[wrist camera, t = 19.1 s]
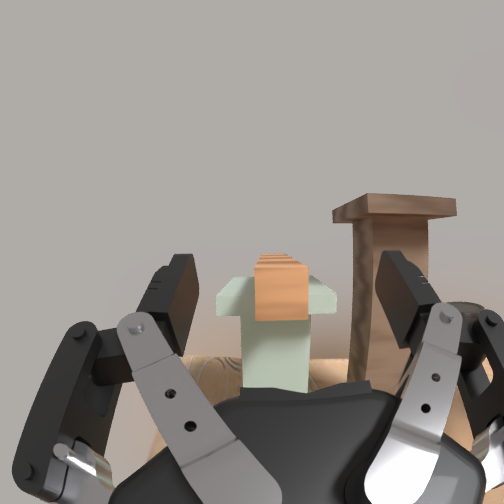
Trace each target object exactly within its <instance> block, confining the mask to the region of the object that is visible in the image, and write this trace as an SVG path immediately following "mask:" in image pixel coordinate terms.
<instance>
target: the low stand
mask: <svg viewBox="0 0 504 504" xmlns="http://www.w3.org/2000/svg"><path fill="white" fill-rule="evenodd" d="M336 306H337V293H335V292H334V291H333V290H331V289H330V288H329V287H327V286H326V285H324V284H323V283H322V282H320V281H319V280H317V279H316V278H315V277H313V276H309V296H308V320H282V321H255V277H234V278H233V279H232V280H231V281H230V282H229V283H228V284H227V285H226V286H225V287H224V288H223V289H222V290H221V291H220V292H219V293H218V294H217V295H216V310H217V316H241V346H242V374H243V387H248V388H266V387H274V388H279V389H284V390H290V391H296V392H302V393H308V377H309V356H310V328H311V314H325V313H336Z"/></svg>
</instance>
